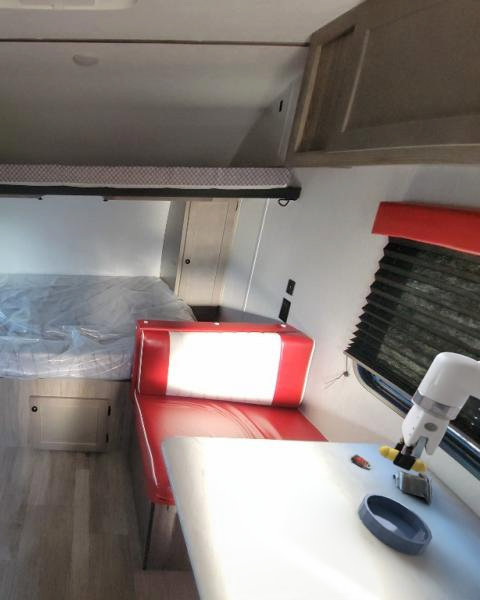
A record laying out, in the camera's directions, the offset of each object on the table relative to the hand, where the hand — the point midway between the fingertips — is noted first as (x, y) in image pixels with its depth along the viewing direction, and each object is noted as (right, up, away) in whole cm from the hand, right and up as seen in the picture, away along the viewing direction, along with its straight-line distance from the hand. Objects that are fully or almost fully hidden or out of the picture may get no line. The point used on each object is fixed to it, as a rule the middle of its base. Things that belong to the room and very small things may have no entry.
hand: (400, 461), depth 84 cm
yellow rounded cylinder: (0, +1, 0) cm, 1 cm away
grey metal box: (+15, -13, +13) cm, 24 cm away
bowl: (-3, -16, -1) cm, 17 cm away
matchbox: (+6, -10, +19) cm, 22 cm away
